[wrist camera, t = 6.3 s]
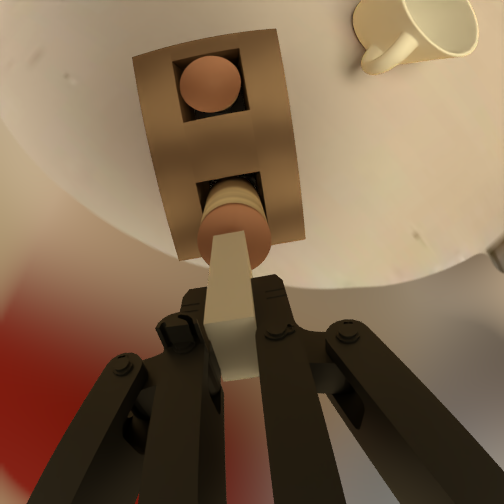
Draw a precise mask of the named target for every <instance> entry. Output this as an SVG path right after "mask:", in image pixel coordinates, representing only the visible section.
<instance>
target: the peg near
mask: <svg viewBox="0 0 504 504" xmlns="http://www.w3.org/2000/svg"><path fill="white" fill-rule="evenodd" d="M238 231H244V233H245V238H246V244H247V249H248V255H249V260H250V265H251V270H252V269H254V268H256V267H257V266H259V265H260V264H261V263H262V262H263V261H264V260H265V258H266V257H267V255H268V253H269V250H270V247H271V233H270V229H269V226H268V223H267V220H266V216H265V213H264V210H263V207H262V204H261V201H260V198H259V195H258V192H257V190H256V188H255V186H254V185H253V184H252V183H251V182H250V181H248V180H247V179H245V178H242V177H238V176H229V177H225V178H222V179H220V180H219V181H217V182H216V183H215V184H214V185H213V186H212V187H211V189H210V191H209V194H208V197H207V201H206V205H205V208H204V212H203V216H202V220H201V224H200V228H199V232H198V236H197V244H198V249H199V252H200V254H201V256H202V258H203V259H204V260H205V262H206V263H207V264H208V265H210V259H211V251H212V243H213V236H215V235H221V234H227V233H232V232H238Z"/></svg>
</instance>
